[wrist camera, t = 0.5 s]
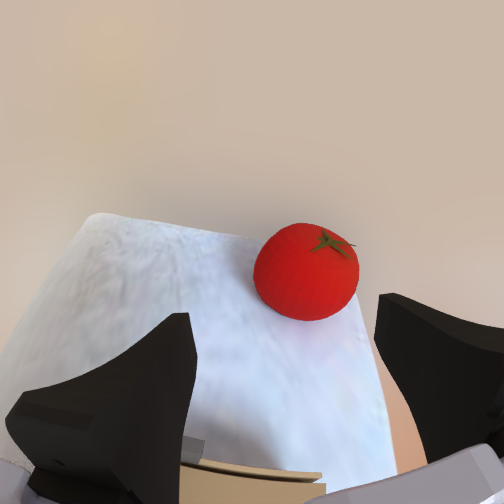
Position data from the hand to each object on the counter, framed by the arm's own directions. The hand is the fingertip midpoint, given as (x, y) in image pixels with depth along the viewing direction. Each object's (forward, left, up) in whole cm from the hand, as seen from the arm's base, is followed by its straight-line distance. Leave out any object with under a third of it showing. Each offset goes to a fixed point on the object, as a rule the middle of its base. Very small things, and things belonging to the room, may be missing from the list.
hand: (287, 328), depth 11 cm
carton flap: (-2, -1, -19) cm, 19 cm away
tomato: (+24, -7, -19) cm, 31 cm away
